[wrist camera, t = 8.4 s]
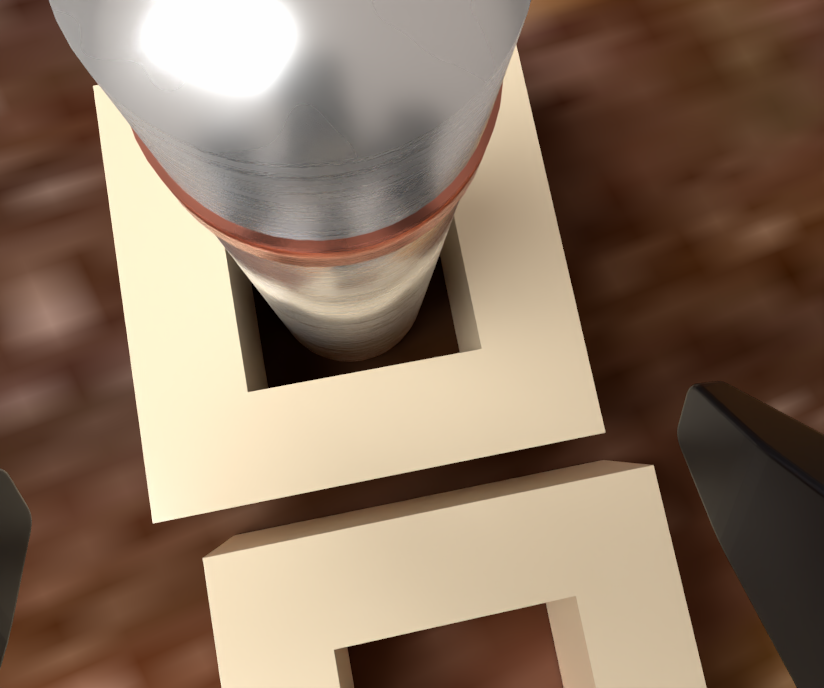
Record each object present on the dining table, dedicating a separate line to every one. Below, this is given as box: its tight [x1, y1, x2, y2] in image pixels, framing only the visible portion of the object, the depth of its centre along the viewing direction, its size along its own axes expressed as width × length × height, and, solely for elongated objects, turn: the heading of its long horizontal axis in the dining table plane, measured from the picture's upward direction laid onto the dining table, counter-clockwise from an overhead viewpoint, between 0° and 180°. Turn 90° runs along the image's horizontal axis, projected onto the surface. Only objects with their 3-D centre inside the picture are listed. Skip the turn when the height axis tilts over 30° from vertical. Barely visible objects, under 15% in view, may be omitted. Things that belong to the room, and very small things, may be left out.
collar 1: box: [93, 46, 606, 523], centre depth 18 cm, size 11×11×4 cm
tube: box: [49, 0, 531, 361], centre depth 13 cm, size 5×5×14 cm
